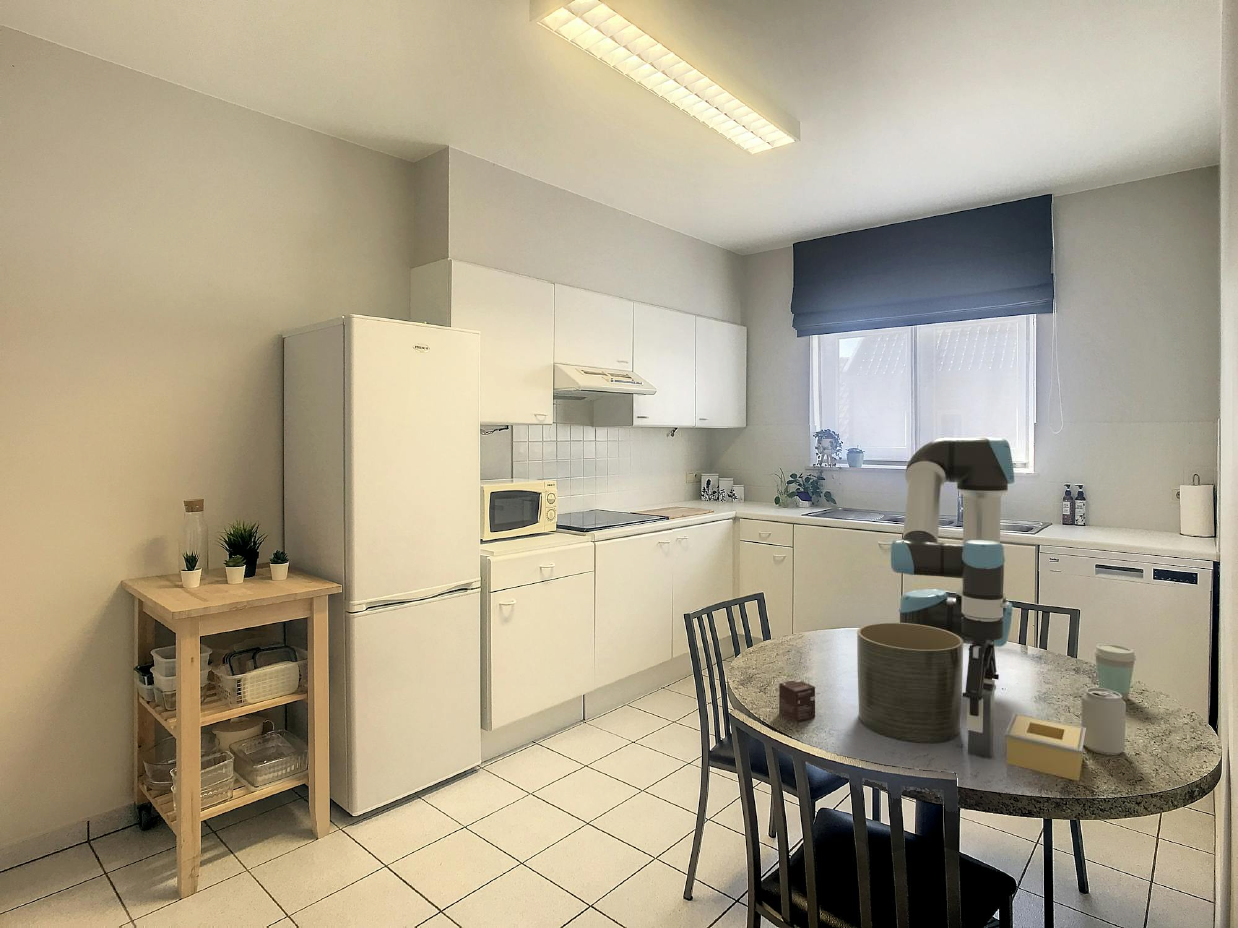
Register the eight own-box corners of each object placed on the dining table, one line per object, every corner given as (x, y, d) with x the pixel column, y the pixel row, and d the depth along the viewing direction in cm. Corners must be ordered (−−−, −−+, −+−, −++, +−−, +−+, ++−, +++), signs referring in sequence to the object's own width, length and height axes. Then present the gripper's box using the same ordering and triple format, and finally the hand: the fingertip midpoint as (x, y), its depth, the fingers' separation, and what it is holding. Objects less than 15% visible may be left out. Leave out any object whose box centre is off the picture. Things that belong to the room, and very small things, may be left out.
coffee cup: (1142, 703, 167) (1143, 654, 167) (1102, 701, 169) (1103, 652, 169) (1124, 690, 176) (1125, 644, 175) (1086, 688, 177) (1087, 642, 177)
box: (795, 722, 158) (795, 691, 157) (778, 713, 163) (778, 683, 163) (815, 717, 160) (816, 686, 160) (798, 708, 166) (798, 678, 165)
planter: (947, 707, 166) (948, 624, 165) (975, 748, 144) (976, 653, 143) (851, 701, 170) (851, 620, 170) (863, 739, 149) (864, 647, 148)
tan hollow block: (1004, 763, 137) (1004, 733, 137) (1013, 740, 148) (1013, 712, 147) (1081, 782, 130) (1081, 750, 129) (1085, 756, 140) (1086, 727, 140)
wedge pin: (966, 753, 142) (966, 686, 141) (970, 745, 145) (971, 680, 145) (991, 760, 139) (992, 691, 138) (995, 751, 142) (995, 684, 142)
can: (1072, 741, 147) (1073, 686, 146) (1105, 739, 148) (1106, 684, 147) (1099, 757, 139) (1100, 699, 139) (1134, 756, 140) (1135, 697, 140)
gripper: (992, 633, 129) (991, 745, 129) (1012, 607, 149) (1010, 705, 149) (948, 626, 133) (947, 735, 134) (973, 603, 153) (972, 697, 154)
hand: (981, 719), depth 141 cm, fingers open, 13 cm apart
